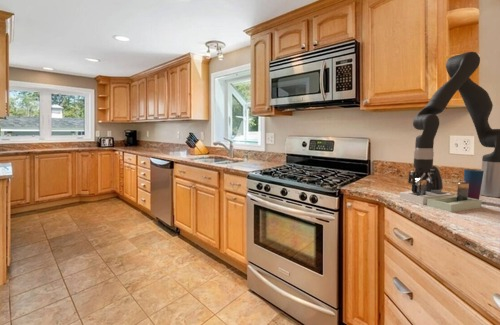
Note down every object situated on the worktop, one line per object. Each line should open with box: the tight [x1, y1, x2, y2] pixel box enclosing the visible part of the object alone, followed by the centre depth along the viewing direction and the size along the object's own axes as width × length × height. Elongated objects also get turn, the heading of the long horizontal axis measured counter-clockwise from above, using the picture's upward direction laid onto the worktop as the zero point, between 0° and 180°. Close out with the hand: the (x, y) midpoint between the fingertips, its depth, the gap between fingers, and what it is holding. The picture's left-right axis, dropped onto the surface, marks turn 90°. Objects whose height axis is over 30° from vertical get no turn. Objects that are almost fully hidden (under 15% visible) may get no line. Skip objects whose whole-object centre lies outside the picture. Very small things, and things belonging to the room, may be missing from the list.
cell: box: [417, 179, 427, 196], centre depth 124 cm, size 4×4×11 cm
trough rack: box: [426, 194, 483, 213], centre depth 113 cm, size 18×10×4 cm, turn 108°
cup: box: [463, 168, 484, 200], centre depth 120 cm, size 7×7×15 cm
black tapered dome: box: [431, 165, 444, 192], centre depth 137 cm, size 10×10×15 cm
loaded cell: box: [456, 180, 469, 202], centre depth 114 cm, size 4×4×11 cm
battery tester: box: [399, 190, 453, 205], centre depth 125 cm, size 18×12×4 cm, turn 108°
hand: (421, 192), depth 124 cm, fingers open, 8 cm apart
